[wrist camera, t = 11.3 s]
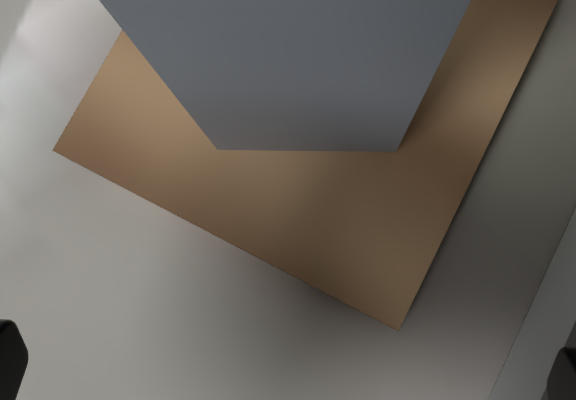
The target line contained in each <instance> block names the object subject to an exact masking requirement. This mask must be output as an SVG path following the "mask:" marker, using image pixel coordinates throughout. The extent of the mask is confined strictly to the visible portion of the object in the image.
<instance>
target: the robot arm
mask: <svg viewBox="0 0 576 400" xmlns="http://www.w3.org/2000/svg"><path fill="white" fill-rule="evenodd" d="M27 364H28V350H27V348H26V345H25V343H24V341H23V339H22V336H21V334H20V332H19V330H18V327H17V325H16V324H15V323H14V322H13V321H12V320H4V319H0V400H16V397H17V394H18V391H19V388H20V385H21V382H22V379H23V376H24V373H25V370H26V367H27ZM546 388H547V396H548V400H576V347H562V348H561V349H560V350H559V351H558V353H557V355H556V358H555V360H554V363H553V365H552V368H551V370H550V373H549V375H548V378H547V385H546Z"/></svg>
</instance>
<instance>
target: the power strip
mask: <svg viewBox="0 0 576 400" xmlns="http://www.w3.org/2000/svg"><path fill="white" fill-rule="evenodd" d="M562 347H576V208H575V210H574V212H573V214H572V217H571V219H570V221H569V223H568V225H567V228H566V230H565V232H564V234H563V236H562V239H561V241H560V243H559V245H558V247H557V250H556V252H555V254H554V256H553V258H552V261H551V263H550V265H549V267H548V269H547V271H546V274H545V276H544V278H543V280H542V282H541V285H540V287H539V289H538V291H537V293H536V296H535V298H534V300H533V302H532V304H531V307H530V309H529V311H528V313H527V315H526V318H525V320H524V322H523V324H522V326H521V329H520V331H519V333H518V335H517V337H516V340H515V342H514V344H513V346H512V348H511V351H510V353H509V355H508V357H507V359H506V362H505V364H504V366H503V368H502V370H501V373H500V375H499V377H498V379H497V381H496V384H495V386H494V388H493V390H492V392H491V395H490V397H489V399H488V400H548V396H547V388H546V385H547V378H548V375H549V373H550V370H551V368H552V365H553V363H554V360H555V358H556V355H557V353H558V351H559V350H560V349H561V348H562Z"/></svg>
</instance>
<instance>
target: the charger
mask: <svg viewBox="0 0 576 400" xmlns="http://www.w3.org/2000/svg"><path fill="white" fill-rule="evenodd" d="M470 1H471V0H100V2H101V3H102V4H103V5H104V7H105V8H106V9H107V11H108V12H109V13H110V14H111V16H112V17H113V18H114V19H115V21H116V22H117V23H118V24H119V26H120V27H121V28H122V30H123V31H124V32H125V33H126V35H127V36H128V37H129V38H130V40H131V41H132V42H133V43H134V45H135V46H136V47H137V49H138V50H139V51H140V52H141V54H142V55H143V56H144V57H145V59H146V60H147V61H148V62H149V64H150V65H151V66H152V68H153V69H154V70H155V71H156V73H157V74H158V75H159V76H160V78H161V79H162V80H163V81H164V83H165V84H166V85H167V87H168V88H169V89H170V90H171V92H172V93H173V94H174V95H175V97H176V98H177V99H178V100H179V102H180V103H181V104H182V106H183V107H184V108H185V109H186V111H187V112H188V113H189V114H190V116H191V117H192V118H193V119H194V121H195V122H196V123H197V125H198V126H199V127H200V128H201V130H202V131H203V132H204V133H205V135H206V136H207V137H208V138H209V140H210V141H211V142H212V144H213V145H214V146H215V147H216V149H217V150H266V151H356V152H396V151H397V149H398V147H399V145H400V143H401V141H402V138H403V136H404V134H405V132H406V130H407V128H408V126H409V124H410V122H411V120H412V118H413V116H414V114H415V112H416V110H417V108H418V106H419V104H420V102H421V100H422V98H423V96H424V94H425V92H426V90H427V88H428V86H429V84H430V82H431V80H432V78H433V76H434V74H435V72H436V70H437V68H438V66H439V64H440V62H441V60H442V58H443V56H444V54H445V52H446V50H447V48H448V46H449V44H450V42H451V40H452V38H453V36H454V34H455V32H456V30H457V28H458V26H459V24H460V22H461V19H462V17H463V15H464V13H465V11H466V9H467V7H468V5H469V3H470Z"/></svg>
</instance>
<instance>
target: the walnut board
mask: <svg viewBox="0 0 576 400" xmlns="http://www.w3.org/2000/svg"><path fill="white" fill-rule="evenodd" d="M557 1H558V0H471V1H470V3H469V5H468V7H467V9H466V11H465V13H464V15H463V17H462V19H461V22H460V24H459V26H458V28H457V30H456V32H455V34H454V36H453V38H452V40H451V42H450V44H449V46H448V48H447V50H446V52H445V54H444V56H443V58H442V60H441V62H440V64H439V66H438V68H437V70H436V72H435V74H434V76H433V78H432V80H431V82H430V84H429V86H428V88H427V90H426V92H425V94H424V96H423V98H422V100H421V102H420V104H419V106H418V108H417V110H416V112H415V114H414V116H413V118H412V120H411V122H410V124H409V126H408V128H407V130H406V132H405V134H404V136H403V138H402V141H401V143H400V145H399V147H398V149H397V151H396V152H356V151H266V150H217V149H216V147H215V146H214V145H213V144H212V142H211V141H210V140H209V138H208V137H207V136H206V135H205V133H204V132H203V131H202V130H201V128H200V127H199V126H198V125H197V123H196V122H195V121H194V119H193V118H192V117H191V116H190V114H189V113H188V112H187V111H186V109H185V108H184V107H183V106H182V104H181V103H180V102H179V100H178V99H177V98H176V97H175V95H174V94H173V93H172V92H171V90H170V89H169V88H168V87H167V85H166V84H165V83H164V81H163V80H162V79H161V78H160V76H159V75H158V74H157V73H156V71H155V70H154V69H153V68H152V66H151V65H150V64H149V62H148V61H147V60H146V59H145V57H144V56H143V55H142V54H141V52H140V51H139V50H138V49H137V47H136V46H135V45H134V43H133V42H132V41H131V40H130V38H129V37H128V36H127V35H126V33H125V32H124V31H123V30H122V32H121V33H120V35H119V37H118V39H117V40H116V42H115V44H114V45H113V47H112V49H111V51H110V52H109V54H108V56H107V57H106V59H105V61H104V63H103V64H102V66H101V68H100V69H99V71H98V73H97V75H96V76H95V78H94V80H93V82H92V83H91V85H90V87H89V88H88V90H87V92H86V94H85V95H84V97H83V99H82V100H81V102H80V104H79V106H78V107H77V109H76V111H75V112H74V114H73V116H72V118H71V119H70V121H69V123H68V125H67V126H66V128H65V130H64V131H63V133H62V135H61V137H60V138H59V140H58V142H57V143H56V145H55V147H54V149H53V151H55V152H57V153H58V154H60V155H62V156H64V157H66V158H68V159H70V160H72V161H74V162H76V163H78V164H79V165H81V166H83V167H85V168H87V169H89V170H91V171H93V172H95V173H97V174H99V175H101V176H102V177H104V178H106V179H108V180H110V181H112V182H114V183H116V184H118V185H120V186H122V187H124V188H125V189H127V190H129V191H131V192H133V193H135V194H137V195H139V196H141V197H143V198H145V199H146V200H148V201H150V202H152V203H154V204H156V205H158V206H160V207H162V208H164V209H166V210H168V211H169V212H171V213H173V214H175V215H177V216H179V217H181V218H183V219H185V220H187V221H189V222H190V223H192V224H194V225H196V226H198V227H200V228H202V229H204V230H206V231H208V232H210V233H212V234H213V235H215V236H217V237H219V238H221V239H223V240H225V241H227V242H229V243H231V244H233V245H235V246H236V247H238V248H240V249H242V250H244V251H246V252H248V253H250V254H252V255H254V256H256V257H257V258H259V259H261V260H263V261H265V262H267V263H269V264H271V265H273V266H275V267H277V268H279V269H280V270H282V271H284V272H286V273H288V274H290V275H292V276H294V277H296V278H298V279H300V280H302V281H303V282H305V283H307V284H309V285H311V286H313V287H315V288H317V289H319V290H321V291H323V292H324V293H326V294H328V295H330V296H332V297H334V298H336V299H338V300H340V301H342V302H344V303H346V304H347V305H349V306H351V307H353V308H355V309H357V310H359V311H361V312H363V313H365V314H367V315H368V316H370V317H372V318H374V319H376V320H378V321H380V322H382V323H384V324H386V325H388V326H390V327H391V328H393V329H395V330H397V331H399V329H400V327H401V325H402V323H403V321H404V319H405V317H406V315H407V312H408V310H409V308H410V306H411V304H412V302H413V300H414V298H415V296H416V294H417V292H418V290H419V288H420V285H421V283H422V281H423V279H424V277H425V275H426V273H427V271H428V269H429V267H430V265H431V263H432V261H433V259H434V256H435V254H436V252H437V250H438V248H439V246H440V244H441V242H442V240H443V238H444V236H445V234H446V232H447V229H448V227H449V225H450V223H451V221H452V219H453V217H454V215H455V213H456V211H457V209H458V207H459V205H460V202H461V200H462V198H463V196H464V194H465V192H466V190H467V188H468V186H469V184H470V182H471V180H472V178H473V175H474V173H475V171H476V169H477V167H478V165H479V163H480V161H481V159H482V157H483V155H484V153H485V151H486V148H487V146H488V144H489V142H490V140H491V138H492V136H493V134H494V132H495V130H496V128H497V126H498V124H499V121H500V119H501V117H502V115H503V113H504V111H505V109H506V107H507V105H508V103H509V101H510V99H511V97H512V94H513V92H514V90H515V88H516V86H517V84H518V82H519V80H520V78H521V76H522V74H523V72H524V70H525V67H526V65H527V63H528V61H529V59H530V57H531V55H532V53H533V51H534V49H535V47H536V45H537V43H538V40H539V38H540V36H541V34H542V32H543V30H544V28H545V26H546V24H547V22H548V20H549V18H550V16H551V13H552V11H553V9H554V7H555V5H556V3H557Z"/></svg>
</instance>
